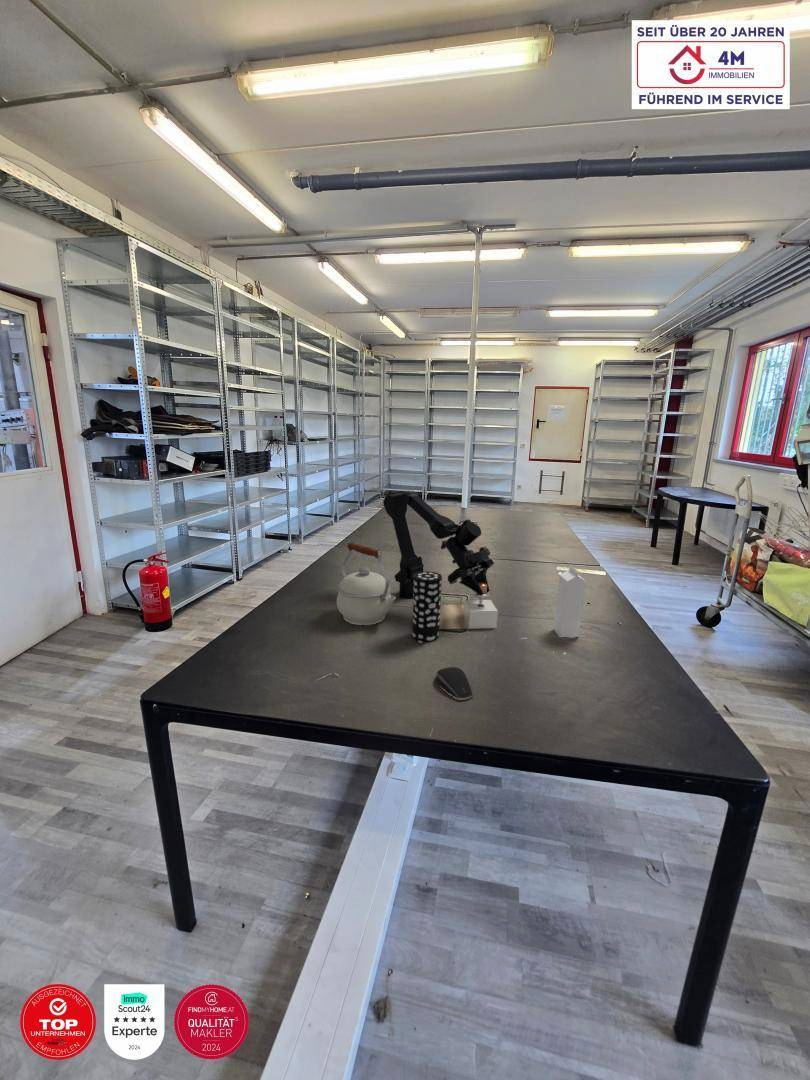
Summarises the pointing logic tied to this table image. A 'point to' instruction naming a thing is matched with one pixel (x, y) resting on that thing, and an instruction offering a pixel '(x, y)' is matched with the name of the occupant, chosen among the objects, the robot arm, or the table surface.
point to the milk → (569, 604)
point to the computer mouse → (454, 682)
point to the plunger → (485, 594)
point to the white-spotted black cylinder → (426, 606)
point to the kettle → (364, 591)
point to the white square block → (480, 614)
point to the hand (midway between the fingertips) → (485, 593)
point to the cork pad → (452, 617)
